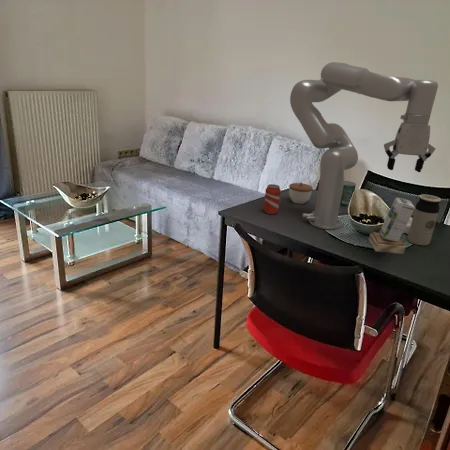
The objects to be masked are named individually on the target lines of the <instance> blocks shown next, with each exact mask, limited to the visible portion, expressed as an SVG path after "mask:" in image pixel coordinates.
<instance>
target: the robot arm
mask: <svg viewBox="0 0 450 450" xmlns="http://www.w3.org/2000/svg"><path fill="white" fill-rule="evenodd" d="M292 87H293V88H292V90H291V92H290V96H289V101H290V107H291V111H292V112H293V114H294V115H295V118H297V120H298V122H299V123H300V125H301V126H302V129H303V131H304V132H305V134H306V135H307V137H308V139H309V141H310V142H311V144H312V145H313V146H314V148H316V149H319V150H323V149H327V150H326V151H324V152H323V154H322V155H321V157H320V160H319V161H320V163H319V167H320V168H319V169H320V170H319V171H320V172H319V181H318V189H317V194H316V200H315V201H316V202H315V206H314V208H315V209H314V210H312V212H310V213H307V212H303V213H302V217H301V218H303V219H306V220H308V221H309V224H310V225H312V226H313V227H316V228H318V229H322V230H330V231H331V230H337V229H339V228H340V227H341V222H340V221H339V219H338V218H339V213H340V208H341V207H340V203H341V197H342V192H343V186H344V181H345V177H344V175H345V171H347V170H350V169H352V168H353V167H355V166H356V165H357V163H358V160H359V153H358V151H357V149H356V147H355V146H354V143H353V142H352V141H351V139H350V137H349V136H348V134H347V132H346V131H345V129H344V128H343V127H342V126H341V125H340V124H337V123H333V122H330V123H328V122H327V121H326V120H325V118H324V116H323V115H322V113H321V112H320V111H319V109H318V108H317V107H316V106H315V105H314V104H313V103H322V102H324V101H326V100H328V99H329V98H331V97H333V96H334V95H336V94H337V93H339V92H340V91H342V90H344V91H348V92H351V93H356V94H358V95H362V96H366V97H370V98H372V99H373V98H374V99H378V100H381V101H386V102H407V106H406V111H405V113H404V114H402V115H401V116H400V119H401V120H403V122H401V123H400V126H399V128H398V129H397V132H396V135H395V138H394V139H393V140H392V141H391V140H390V141H388V142H387V143H384V144H383V149H384V151H385V154H386V155H387V157H388V159H387V164H386V167H387V169H388V170H390V171H393V170H394V168H395V163H396V158H395V157H397V156H398V155H404V156H405V155H407V156H418V158H417V160H416V162H415V166H414V171H416V172H418V173H422V172H421V171H422V169H423V167H424V164H425V162H426V161H427V160H428V159H429V158H430V157H431V156H432V155H433V153H435V151H436V147H434V146H433V145H431V144H430V143H429V142H430V138H431V137H430V136H431V135H430V134H431V125H429V122H430V119H431V114H432V111H433V108H434V107H433V106H434V103H435V100H436V96H437V93H438V87H439V84H438V82H437V81H435V80H429V79H428V80H427V79H414V78H409V77H399V76H393V75H386V74H381V73H377V72H373V71H370V70H369V69H368V68H366V67H361V66H356V65H352V64H348V63H344V62H334V61H333V62H328V63H327V64H326V65H324V66H323V68H322V69H321V71H320V79H303V80H300V81H298V82H296V83H295V84H294V86H292ZM390 147H392V151H391V149H390Z"/></svg>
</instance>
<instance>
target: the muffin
mask: <svg viewBox="0 0 450 450" xmlns="http://www.w3.org/2000/svg"><path fill="white" fill-rule="evenodd" d="M412 219H413V217H412V216H411V217H410V219H409V221H408V223H407V225H406V227H405V229H404V231H403V233H402V234H404V233H406V234H405V235H408V234H409V230H410V226H411V222H412Z"/></svg>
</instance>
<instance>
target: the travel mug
mask: <svg viewBox="0 0 450 450" xmlns="http://www.w3.org/2000/svg"><path fill="white" fill-rule="evenodd" d="M418 198H419V199H418V201H417V202H416V204H415V206H414V207H415V209H414V211H413V214H412V218H413V219H412V222H411V226H410V230H409V234H407V238H406V239H407V241H409V242H410V243H411V244H413V245H416V246H417V245H418V246H429V245H431V240H432V238H433V237H432V236H433V233H434V230H435V226H436V223H437V219H438V215H439V212H440V209H441V208H440V202H441V201H442V199H441V198H440V197H438V196H435V195H431V194H419V195H418Z"/></svg>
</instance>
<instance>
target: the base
mask: <svg viewBox="0 0 450 450" xmlns="http://www.w3.org/2000/svg"><path fill="white" fill-rule="evenodd" d="M368 241H369V243H370V244H372V245H371V246H372V248H373V250H374V251H375V252H379V253H391V254H402V255H404V254H405V251H406V247H407V246H405V243H404V242H403V241H402V240H401V238H400V239H399V241H398V242H397V241H392V240H387V239H383V237H382V235H381V232H375V231H372V232H371V233H369V236H368Z"/></svg>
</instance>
